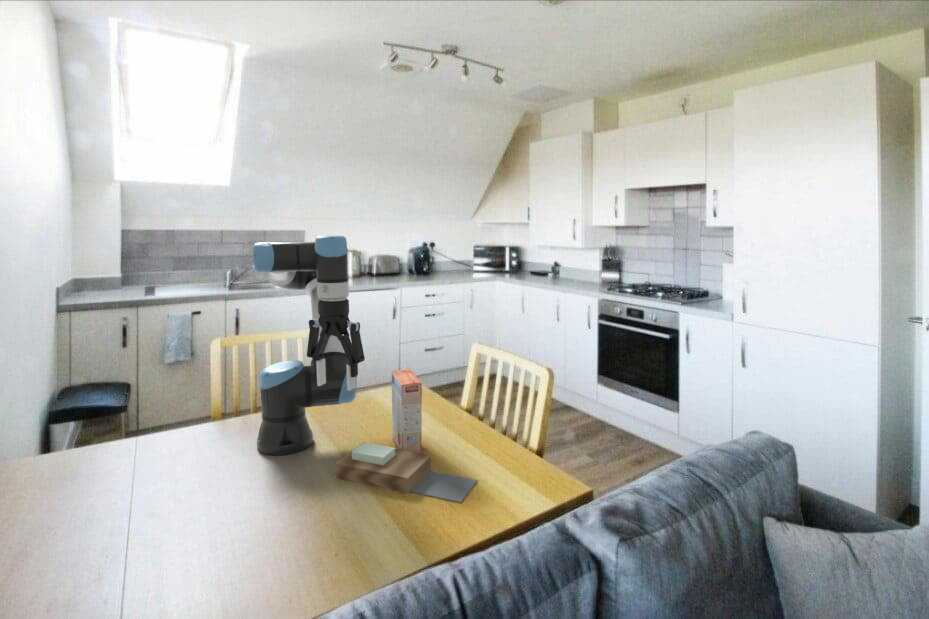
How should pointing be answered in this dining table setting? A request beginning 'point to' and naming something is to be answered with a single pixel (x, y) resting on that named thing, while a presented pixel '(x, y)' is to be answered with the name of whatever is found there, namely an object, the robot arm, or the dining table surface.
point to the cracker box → (406, 411)
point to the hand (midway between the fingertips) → (336, 386)
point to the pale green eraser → (373, 453)
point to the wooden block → (386, 471)
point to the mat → (444, 486)
